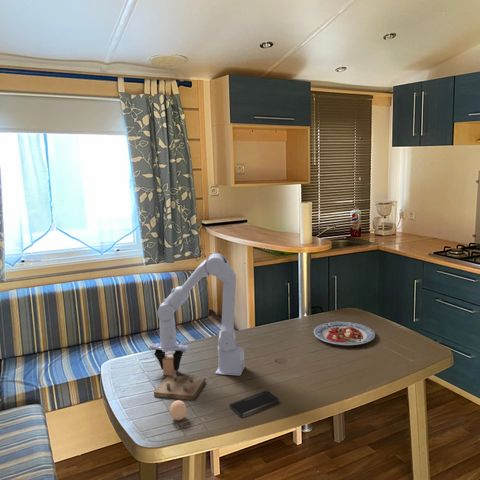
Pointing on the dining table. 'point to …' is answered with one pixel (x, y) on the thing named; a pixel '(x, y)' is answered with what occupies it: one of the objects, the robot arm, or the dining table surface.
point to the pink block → (169, 365)
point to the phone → (254, 403)
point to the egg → (178, 410)
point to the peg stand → (179, 387)
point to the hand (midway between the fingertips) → (170, 368)
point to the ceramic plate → (344, 333)
